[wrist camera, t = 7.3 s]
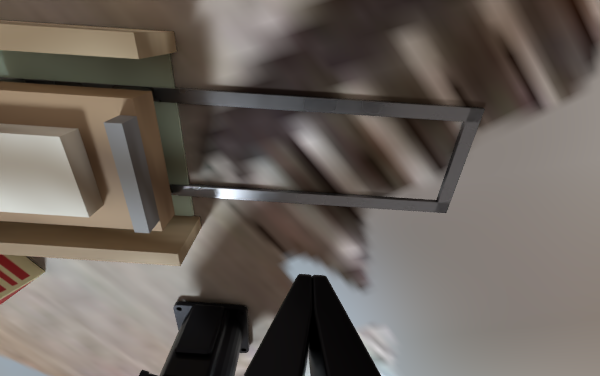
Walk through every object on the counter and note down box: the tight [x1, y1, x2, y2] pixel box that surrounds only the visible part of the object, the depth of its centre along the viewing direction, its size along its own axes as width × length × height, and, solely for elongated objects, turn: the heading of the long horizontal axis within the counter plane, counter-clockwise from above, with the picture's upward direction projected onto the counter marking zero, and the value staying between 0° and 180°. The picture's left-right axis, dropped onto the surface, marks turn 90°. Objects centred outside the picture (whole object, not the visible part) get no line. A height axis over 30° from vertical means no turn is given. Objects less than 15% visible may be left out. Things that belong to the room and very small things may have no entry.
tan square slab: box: [0, 79, 175, 233], centre depth 16 cm, size 8×10×5 cm
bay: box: [0, 20, 201, 266], centre depth 17 cm, size 13×14×4 cm
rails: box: [0, 77, 485, 213], centre depth 18 cm, size 7×28×1 cm, turn 87°
